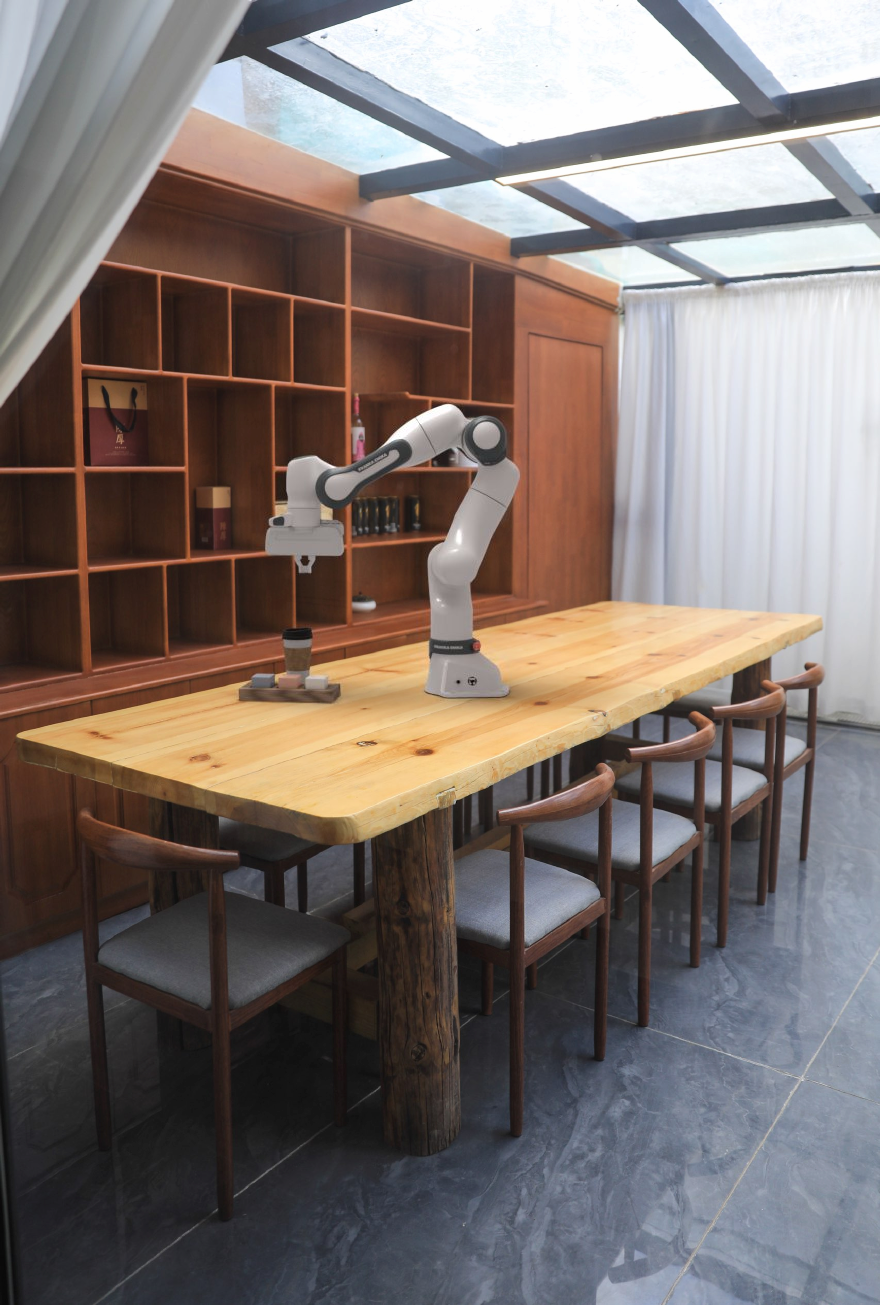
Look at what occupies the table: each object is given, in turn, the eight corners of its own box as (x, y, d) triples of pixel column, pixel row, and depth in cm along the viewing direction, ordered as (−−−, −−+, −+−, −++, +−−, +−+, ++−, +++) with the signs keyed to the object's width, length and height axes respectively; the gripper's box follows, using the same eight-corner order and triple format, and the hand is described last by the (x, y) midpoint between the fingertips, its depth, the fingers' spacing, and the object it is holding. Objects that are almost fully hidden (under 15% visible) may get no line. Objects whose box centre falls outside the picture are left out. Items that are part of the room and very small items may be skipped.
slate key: (275, 689, 263) (274, 674, 262) (270, 693, 258) (269, 677, 258) (257, 688, 264) (256, 673, 263) (251, 692, 259) (251, 677, 258)
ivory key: (328, 690, 262) (328, 675, 261) (324, 694, 257) (324, 679, 256) (310, 690, 262) (309, 675, 261) (305, 694, 257) (305, 678, 257)
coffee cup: (307, 685, 276) (306, 631, 273) (278, 684, 277) (277, 630, 275) (317, 680, 284) (316, 626, 281) (288, 678, 285) (287, 625, 283)
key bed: (340, 694, 264) (340, 683, 264) (332, 703, 254) (332, 691, 254) (250, 692, 267) (250, 681, 266) (238, 700, 257) (238, 688, 256)
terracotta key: (301, 690, 262) (301, 674, 262) (297, 693, 258) (296, 678, 257) (283, 689, 263) (283, 674, 262) (278, 693, 258) (278, 677, 258)
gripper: (346, 519, 264) (346, 572, 267) (269, 518, 267) (270, 571, 269) (341, 520, 258) (341, 574, 261) (262, 519, 261) (264, 573, 263)
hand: (305, 572), depth 265 cm, fingers closed
